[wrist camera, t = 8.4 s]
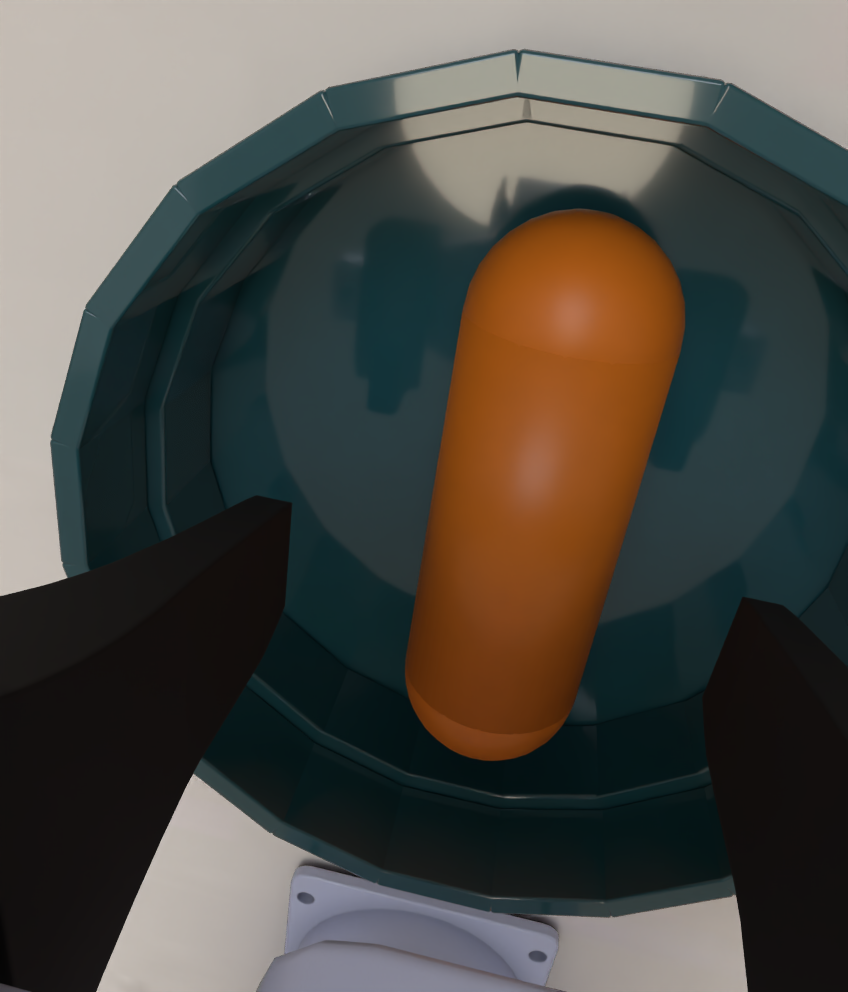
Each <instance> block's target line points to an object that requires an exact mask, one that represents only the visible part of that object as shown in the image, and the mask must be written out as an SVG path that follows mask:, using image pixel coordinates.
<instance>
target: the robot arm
mask: <svg viewBox="0 0 848 992" xmlns="http://www.w3.org/2000/svg"><path fill="white" fill-rule="evenodd" d="M291 514H292V503H291V502H287V501H282V500H277V499H272V498H267V497H263V496H258V495H256V496H253V497H251V498H248V499H246V500H244V501H242V502H240V503H238V504H236V505H234V506H232V507H230V508H228V509H226V510H224V511H222V512H220V513H218V514H216V515H214V516H212V517H210V518H208V519H206V520H204V521H202V522H200V523H198V524H196V525H194V526H192V527H190V528H188V529H186V530H184V531H182V532H180V533H178V534H176V535H174V536H172V537H170V538H168V539H166V540H163V541H161V542H159V543H156V544H154V545H152V546H150V547H147V548H145V549H143V550H140V551H138V552H136V553H133V554H131V555H129V556H127V557H124V558H122V559H120V560H117V561H115V562H112V563H110V564H107V565H104V566H102V567H99V568H96V569H93V570H91V571H88V572H85V573H82V574H79V575H76V576H73V577H70V578H66V579H63V580H60V581H57V582H54V583H51V584H47V585H44V586H40V587H36V588H32V589H28V590H24V591H20V592H16V593H12V594H8V595H4V596H0V992H96V991H97V988H98V986H99V983H100V981H101V978H102V976H103V973H104V971H105V969H106V966H107V964H108V961H109V959H110V957H111V954H112V952H113V950H114V947H115V945H116V942H117V940H118V938H119V935H120V933H121V931H122V928H123V926H124V923H125V921H126V919H127V916H128V914H129V912H130V909H131V907H132V905H133V902H134V900H135V898H136V895H137V893H138V891H139V889H140V886H141V884H142V882H143V880H144V877H145V875H146V873H147V871H148V868H149V866H150V864H151V862H152V859H153V857H154V855H155V853H156V850H157V848H158V846H159V844H160V841H161V839H162V837H163V835H164V833H165V831H166V829H167V826H168V824H169V822H170V820H171V818H172V816H173V814H174V811H175V809H176V807H177V805H178V803H179V801H180V799H181V797H182V794H183V792H184V790H185V788H186V786H187V784H188V782H189V780H190V778H191V777H192V775H193V773H194V771H195V769H196V768H197V766H198V764H199V762H200V760H201V759H202V757H203V755H204V754H205V752H206V750H207V749H208V747H209V745H210V744H211V742H212V741H213V739H214V737H215V736H216V734H217V732H218V731H219V729H220V727H221V726H222V724H223V722H224V721H225V719H226V718H227V716H228V714H229V713H230V711H231V709H232V708H233V706H234V704H235V703H236V701H237V699H238V698H239V696H240V695H241V693H242V691H243V690H244V688H245V686H246V685H247V683H248V681H249V680H250V678H251V676H252V675H253V673H254V671H255V670H256V668H257V666H258V664H259V663H260V661H261V659H262V658H263V656H264V654H265V652H266V649H267V647H268V645H269V643H270V640H271V638H272V636H273V634H274V631H275V629H276V626H277V624H278V621H279V619H280V617H281V614H282V612H283V609H284V607H285V599H286V585H287V571H288V557H289V542H290V528H291ZM702 701H703V721H704V736H705V748H706V757H707V762H708V767H709V772H710V777H711V782H712V786H713V791H714V796H715V800H716V805H717V810H718V814H719V819H720V823H721V828H722V832H723V837H724V841H725V846H726V850H727V855H728V859H729V864H730V868H731V873H732V877H733V882H734V886H735V892H736V897H737V903H738V909H739V915H740V921H741V930H742V940H743V949H744V958H745V968H746V977H747V986H748V992H848V667H847V666H846V665H845V664H844V663H843V662H842V661H841V660H840V659H839V658H838V657H837V656H836V655H835V654H834V653H833V652H832V651H831V650H830V649H829V648H828V647H827V646H826V645H825V644H824V643H823V642H822V641H821V640H820V639H819V638H818V637H817V636H816V635H815V634H814V633H813V632H812V631H811V630H810V629H809V628H808V627H807V626H806V625H805V624H804V623H803V622H802V621H801V620H800V619H799V618H798V617H796V616H795V615H794V614H793V613H792V612H791V611H790V610H788V609H787V608H786V607H785V606H784V605H781V604H776V603H771V602H766V601H762V600H757V599H752V598H747V597H742V599H741V602H740V604H739V607H738V609H737V612H736V614H735V617H734V619H733V622H732V624H731V627H730V629H729V632H728V634H727V637H726V639H725V642H724V644H723V647H722V649H721V652H720V654H719V657H718V659H717V662H716V664H715V667H714V669H713V672H712V674H711V677H710V679H709V682H708V684H707V687H706V689H705V692H704V694H703V697H702ZM558 942H559V934H558V933H557V931H556V930H555V929H554V928H552V927H551V926H549V925H547V924H544V923H540V922H536V921H532V920H528V919H524V918H520V917H516V916H511V915H507V914H503V913H492V912H491V911H490V912H485V911H481V910H477V909H473V908H469V907H465V906H461V905H457V904H453V903H449V902H445V901H441V900H437V899H432V898H428V897H424V896H420V895H416V894H412V893H408V892H404V891H400V890H396V889H392V888H388V887H384V886H380V885H378V884H377V883H372V882H370V881H368V880H366V879H362V878H358V877H354V876H350V875H346V874H342V873H338V872H334V871H330V870H326V869H322V868H318V867H313V866H307V865H306V866H301V867H299V868H297V869H296V870H295V872H294V875H293V878H292V881H291V887H290V898H289V909H288V920H287V931H286V942H285V953H284V955H281V956H279V957H276V958H274V960H273V962H272V963H271V965H270V967H269V969H268V970H267V972H266V974H265V976H264V977H263V979H262V981H261V983H260V984H259V986H258V988H257V991H256V992H565V991H561V990H557V989H553V988H549V987H545V984H546V982H547V979H548V976H549V973H550V970H551V968H552V965H553V962H554V959H555V957H556V954H557V951H558Z"/></svg>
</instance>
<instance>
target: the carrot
mask: <svg viewBox="0 0 848 992" xmlns="http://www.w3.org/2000/svg"><path fill="white" fill-rule="evenodd" d="M684 331H685V301H684V296H683V292H682V287H681V283H680V280H679V278H678V276H677V274H676V271H675V269H674V267H673V265H672V263H671V261H670V259H669V258H668V257H667V256H666V254H665V253H664V252H663V250H662V249H661V248H660V246H659V245H658V244H657V242H656V241H655V240H654V239H652V238H651V237H650V236H649V235H648V234H646V233H645V232H644V231H643V230H642V229H640V228H639V227H638V226H636V225H634V224H632V223H630V222H628V221H626V220H624V219H622V218H620V217H618V216H616V215H614V214H610V213H606V212H602V211H597V210H590V209H569V210H559V211H553V212H550V213H547V214H544V215H541V216H538V217H535V218H532V219H530V220H528V221H526V222H525V223H523V224H521V225H520V226H518V227H516V228H514V229H513V230H511V231H510V232H508V233H507V234H506V235H505V236H504V237H503V238H502V239H501V240H499V241H498V242H497V243H496V244H495V245H494V246H493V247H492V248H491V249H490V251H489V252H488V253H487V255H486V256H485V257H484V259H483V260H482V261H481V262H480V264H479V266H478V268H477V270H476V272H475V274H474V276H473V278H472V280H471V282H470V284H469V288H468V292H467V296H466V299H465V303H464V305H463V311H462V317H461V323H460V329H459V335H458V341H457V347H456V353H455V360H454V366H453V372H452V378H451V384H450V390H449V396H448V402H447V408H446V415H445V421H444V427H443V433H442V439H441V445H440V451H439V457H438V463H437V470H436V476H435V482H434V488H433V494H432V500H431V506H430V512H429V518H428V525H427V531H426V537H425V543H424V549H423V555H422V561H421V567H420V573H419V580H418V586H417V592H416V598H415V604H414V610H413V616H412V622H411V628H410V635H409V641H408V647H407V653H406V659H405V680H406V687H407V691H408V696H409V699H410V702H411V704H412V707H413V709H414V711H415V713H416V715H417V716H418V718H419V720H420V721H421V723H422V724H423V726H424V727H425V729H426V730H427V731H428V732H429V733H430V734H431V735H432V736H433V737H434V738H436V739H437V740H438V741H439V742H440V743H442V744H443V745H445V746H446V747H447V748H449V749H451V750H452V751H454V752H456V753H458V754H460V755H463V756H466V757H469V758H473V759H478V760H483V761H500V760H507V759H513V758H517V757H520V756H523V755H526V754H528V753H530V752H532V751H534V750H535V749H537V748H539V747H540V746H542V745H543V744H545V743H546V742H547V741H549V740H550V739H551V738H552V737H553V736H554V735H555V734H556V733H557V731H558V730H559V729H560V728H561V727H562V725H563V724H564V722H565V721H566V719H567V717H568V715H569V713H570V711H571V709H572V707H573V704H574V702H575V699H576V696H577V692H578V689H579V686H580V682H581V679H582V676H583V672H584V669H585V666H586V663H587V659H588V656H589V653H590V649H591V646H592V643H593V639H594V636H595V633H596V629H597V626H598V623H599V620H600V616H601V613H602V610H603V606H604V603H605V600H606V596H607V593H608V590H609V587H610V583H611V580H612V577H613V573H614V570H615V567H616V563H617V560H618V557H619V553H620V550H621V547H622V544H623V540H624V537H625V534H626V530H627V527H628V524H629V520H630V517H631V514H632V511H633V507H634V504H635V501H636V497H637V494H638V491H639V487H640V484H641V481H642V478H643V474H644V471H645V468H646V464H647V461H648V458H649V454H650V451H651V448H652V444H653V441H654V438H655V435H656V431H657V428H658V425H659V421H660V418H661V415H662V411H663V408H664V405H665V402H666V398H667V395H668V392H669V388H670V385H671V382H672V378H673V375H674V372H675V368H676V365H677V362H678V359H679V355H680V352H681V347H682V342H683V336H684Z"/></svg>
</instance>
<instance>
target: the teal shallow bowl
mask: <svg viewBox="0 0 848 992" xmlns="http://www.w3.org/2000/svg"><path fill="white" fill-rule="evenodd" d="M569 209H590V210H597V211H602V212H606V213H610V214H614V215H616V216H618V217H620V218H622V219H624V220H626V221H628V222H630V223H632V224H634V225H636V226H638V227H639V228H640V229H642V230H643V231H644V232H645V233H646V234H648V235H649V236H650V237H651V238H652V239H654V240H655V241H656V242H657V244H658V245H659V246H660V248H661V249H662V250H663V252H664V253H665V254H666V256H667V257H668V258H669V259H670V261H671V263H672V265H673V267H674V269H675V271H676V274H677V276H678V278H679V280H680V283H681V287H682V292H683V296H684V301H685V331H684V336H683V342H682V347H681V352H680V355H679V359H678V362H677V365H676V368H675V372H674V375H673V378H672V382H671V385H670V388H669V392H668V395H667V398H666V402H665V405H664V408H663V411H662V415H661V418H660V421H659V425H658V428H657V431H656V435H655V438H654V441H653V444H652V448H651V451H650V454H649V458H648V461H647V464H646V468H645V471H644V474H643V478H642V481H641V484H640V487H639V491H638V494H637V497H636V501H635V504H634V507H633V511H632V514H631V517H630V520H629V524H628V527H627V530H626V534H625V537H624V540H623V544H622V547H621V550H620V553H619V557H618V560H617V563H616V567H615V570H614V573H613V577H612V580H611V583H610V587H609V590H608V593H607V596H606V600H605V603H604V606H603V610H602V613H601V616H600V620H599V623H598V626H597V629H596V633H595V636H594V639H593V643H592V646H591V649H590V653H589V656H588V659H587V663H586V666H585V669H584V672H583V676H582V679H581V682H580V686H579V689H578V692H577V696H576V699H575V702H574V704H573V707H572V709H571V711H570V713H569V715H568V717H567V719H566V721H565V722H564V724H563V725H562V727H561V728H560V729H559V730H558V731H557V733H556V734H555V735H554V736H553V737H552V738H551V739H550V740H549V741H547V742H546V743H545V744H543V745H542V746H540V747H539V748H537V749H535V750H534V751H532V752H530V753H528V754H526V755H523V756H520V757H517V758H513V759H507V760H500V761H483V760H478V759H473V758H469V757H466V756H463V755H460V754H458V753H456V752H454V751H452V750H451V749H449V748H447V747H446V746H445V745H443V744H442V743H440V742H439V741H438V740H437V739H436V738H434V737H433V736H432V735H431V734H430V733H429V732H428V731H427V730H426V729H425V727H424V726H423V724H422V723H421V721H420V720H419V718H418V716H417V715H416V713H415V711H414V709H413V707H412V704H411V702H410V699H409V696H408V691H407V687H406V680H405V659H406V653H407V647H408V641H409V635H410V628H411V622H412V616H413V610H414V604H415V598H416V592H417V586H418V580H419V573H420V567H421V561H422V555H423V549H424V543H425V537H426V531H427V525H428V518H429V512H430V506H431V500H432V494H433V488H434V482H435V476H436V470H437V463H438V457H439V451H440V445H441V439H442V433H443V427H444V421H445V415H446V408H447V402H448V396H449V390H450V384H451V378H452V372H453V366H454V360H455V353H456V347H457V341H458V335H459V329H460V323H461V317H462V311H463V305H464V303H465V299H466V296H467V292H468V288H469V284H470V282H471V280H472V278H473V276H474V274H475V272H476V270H477V268H478V266H479V264H480V262H481V261H482V260H483V259H484V257H485V256H486V255H487V253H488V252H489V251H490V249H491V248H492V247H493V246H494V245H495V244H496V243H497V242H498V241H499V240H501V239H502V238H503V237H504V236H505V235H506V234H507V233H508V232H510V231H511V230H513V229H514V228H516V227H518V226H520V225H521V224H523V223H525V222H526V221H528V220H530V219H532V218H535V217H538V216H541V215H544V214H547V213H550V212H553V211H559V210H569ZM85 308H86V309H85V310H84V312H83V316H82V319H81V323H80V327H79V331H78V335H77V338H76V342H75V346H74V350H73V354H72V357H71V361H70V365H69V369H68V373H67V377H66V380H65V384H64V388H63V392H62V396H61V399H60V403H59V407H58V411H57V415H56V418H55V422H54V426H53V430H52V434H51V442H50V445H51V455H52V466H53V477H54V488H55V498H56V509H57V520H58V531H59V541H60V552H61V561H62V562H63V568H64V571H65V573H66V575H67V578H70V577H73V576H76V575H79V574H82V573H85V572H88V571H91V570H93V569H96V568H99V567H102V566H104V565H107V564H110V563H112V562H115V561H117V560H120V559H122V558H124V557H127V556H129V555H131V554H133V553H136V552H138V551H140V550H143V549H145V548H147V547H150V546H152V545H154V544H156V543H159V542H161V541H163V540H166V539H168V538H170V537H172V536H174V535H176V534H178V533H180V532H182V531H184V530H186V529H188V528H190V527H192V526H194V525H196V524H198V523H200V522H202V521H204V520H206V519H208V518H210V517H212V516H214V515H216V514H218V513H220V512H222V511H224V510H226V509H228V508H230V507H232V506H234V505H236V504H238V503H240V502H242V501H244V500H246V499H248V498H251V497H253V496H256V495H258V496H263V497H267V498H272V499H277V500H282V501H287V502H291V503H292V514H291V528H290V542H289V557H288V571H287V585H286V599H285V607H284V609H283V612H282V614H281V617H280V619H279V621H278V624H277V626H276V629H275V631H274V634H273V636H272V638H271V640H270V643H269V645H268V647H267V649H266V652H265V654H264V656H263V658H262V659H261V661H260V663H259V664H258V666H257V668H256V670H255V671H254V673H253V675H252V676H251V678H250V680H249V681H248V683H247V685H246V686H245V688H244V690H243V691H242V693H241V695H240V696H239V698H238V699H237V701H236V703H235V704H234V706H233V708H232V709H231V711H230V713H229V714H228V716H227V718H226V719H225V721H224V722H223V724H222V726H221V727H220V729H219V731H218V732H217V734H216V736H215V737H214V739H213V741H212V742H211V744H210V745H209V747H208V749H207V750H206V752H205V754H204V755H203V757H202V759H201V760H200V762H199V764H198V766H197V768H196V769H195V771H194V773H193V774H195V775H196V776H197V777H198V778H200V779H201V780H202V781H204V782H205V783H206V784H207V785H209V786H210V787H211V788H213V789H214V790H215V791H216V792H218V793H219V794H220V795H222V796H223V797H224V798H225V799H227V800H228V801H229V802H231V803H232V804H233V805H234V806H236V807H237V808H238V809H240V810H241V811H242V812H243V813H245V814H246V815H247V816H249V817H250V818H251V819H252V820H254V821H255V822H256V823H257V824H259V825H260V826H261V827H263V828H264V829H265V830H266V831H268V832H269V833H273V835H274V836H276V837H278V838H280V839H282V840H284V841H286V842H288V843H291V844H293V845H295V846H297V847H299V848H301V849H303V850H305V851H307V852H309V853H311V854H313V855H316V856H318V857H320V858H322V859H324V860H326V861H328V862H330V863H332V864H334V865H336V866H339V867H341V868H343V869H345V870H347V871H349V872H351V873H353V874H355V875H357V876H359V877H361V878H364V879H366V880H368V881H370V882H372V883H377V884H378V885H380V886H384V887H388V888H392V889H396V890H400V891H404V892H408V893H412V894H416V895H420V896H424V897H428V898H432V899H437V900H441V901H445V902H449V903H453V904H457V905H461V906H465V907H469V908H473V909H477V910H481V911H485V912H490V911H491V912H492V913H505V914H530V915H556V916H581V917H606V918H609V917H611V916H612V917H619V916H624V915H630V914H636V913H641V912H647V911H653V910H658V909H664V908H670V907H676V906H681V905H687V904H693V903H698V902H704V901H710V900H715V899H721V898H727V897H732V896H733V895H736V892H735V886H734V882H733V877H732V873H731V868H730V864H729V859H728V855H727V850H726V846H725V841H724V837H723V832H722V828H721V823H720V819H719V814H718V810H717V805H716V800H715V796H714V791H713V786H712V782H711V777H710V772H709V767H708V762H707V757H706V748H705V736H704V721H703V701H702V697H703V694H704V692H705V689H706V687H707V684H708V682H709V679H710V677H711V674H712V672H713V669H714V667H715V664H716V662H717V659H718V657H719V654H720V652H721V649H722V647H723V644H724V642H725V639H726V637H727V634H728V632H729V629H730V627H731V624H732V622H733V619H734V617H735V614H736V612H737V609H738V607H739V604H740V602H741V599H742V597H747V598H752V599H757V600H762V601H766V602H771V603H776V604H781V605H784V606H785V607H786V608H787V609H788V610H790V611H791V612H792V613H793V614H794V615H795V616H796V617H798V618H799V619H800V620H801V621H802V622H803V623H804V624H805V625H806V626H807V627H808V628H809V629H810V630H811V631H812V632H813V633H814V634H815V635H816V636H817V637H818V638H819V639H820V640H821V641H822V642H823V643H824V644H825V645H826V646H827V647H828V648H829V649H830V650H831V651H832V652H833V653H834V654H835V655H836V656H837V657H838V658H839V659H840V660H841V661H842V662H843V663H844V664H845V665H846V666H847V667H848V150H847V149H846V148H844V147H842V146H840V145H839V144H837V143H835V142H833V141H832V140H830V139H828V138H826V137H825V136H823V135H821V134H820V133H818V132H816V131H814V130H813V129H811V128H809V127H807V126H806V125H804V124H802V123H800V122H799V121H797V120H795V119H793V118H792V117H790V116H788V115H786V114H785V113H783V112H781V111H779V110H778V109H776V108H774V107H772V106H771V105H769V104H767V103H765V102H764V101H762V100H760V99H758V98H757V97H755V96H753V95H751V94H750V93H748V92H746V91H745V90H743V89H741V88H739V87H738V86H736V85H734V84H732V83H725V82H724V81H723V80H721V79H715V78H708V77H702V76H695V75H689V74H682V73H676V72H669V71H663V70H657V69H650V68H644V67H637V66H631V65H624V64H618V63H611V62H605V61H599V60H592V59H586V58H579V57H573V56H566V55H560V54H553V53H547V52H541V51H534V50H528V49H522V50H520V51H518V50H515V49H512V50H507V51H502V52H498V53H493V54H488V55H483V56H478V57H473V58H468V59H463V60H459V61H454V62H449V63H444V64H439V65H434V66H429V67H425V68H420V69H415V70H410V71H405V72H400V73H395V74H391V75H386V76H381V77H376V78H371V79H366V80H361V81H356V82H352V83H347V84H342V85H337V86H332V87H328V88H327V89H326V90H322V91H319V92H317V93H316V94H314V95H313V96H311V97H309V98H308V99H306V100H305V101H303V102H302V103H300V104H298V105H297V106H295V107H294V108H292V109H291V110H289V111H287V112H286V113H284V114H283V115H281V116H280V117H278V118H276V119H275V120H273V121H272V122H270V123H269V124H267V125H265V126H264V127H262V128H261V129H259V130H258V131H256V132H254V133H253V134H251V135H250V136H248V137H246V138H245V139H243V140H242V141H240V142H239V143H237V144H235V145H234V146H232V147H231V148H229V149H228V150H226V151H224V152H223V153H221V154H220V155H218V156H217V157H215V158H213V159H212V160H210V161H209V162H207V163H206V164H204V165H202V166H201V167H199V168H198V169H196V170H195V171H193V172H191V173H190V174H188V175H187V176H185V177H184V178H182V179H180V180H179V181H178V182H177V184H176V185H173V186H172V188H171V189H170V190H169V192H168V193H167V194H166V196H165V197H164V199H163V200H162V201H161V203H160V204H159V205H158V207H157V208H156V210H155V211H154V212H153V214H152V215H151V216H150V218H149V219H148V220H147V222H146V223H145V225H144V226H143V227H142V229H141V230H140V231H139V233H138V234H137V236H136V237H135V238H134V240H133V241H132V242H131V244H130V245H129V247H128V248H127V249H126V251H125V252H124V253H123V255H122V256H121V258H120V259H119V260H118V262H117V263H116V264H115V266H114V267H113V269H112V270H111V271H110V273H109V274H108V275H107V277H106V278H105V280H104V281H103V282H102V284H101V285H100V286H99V288H98V289H97V290H96V292H95V293H94V295H93V296H92V297H91V299H90V300H89V301H88V303H87V304H86V307H85Z"/></svg>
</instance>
